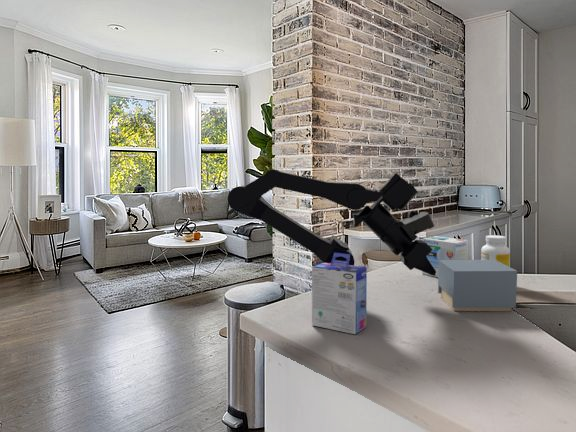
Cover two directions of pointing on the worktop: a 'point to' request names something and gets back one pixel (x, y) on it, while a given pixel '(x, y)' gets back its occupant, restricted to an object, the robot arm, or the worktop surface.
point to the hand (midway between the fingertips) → (434, 273)
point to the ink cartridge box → (339, 295)
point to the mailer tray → (448, 300)
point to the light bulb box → (445, 250)
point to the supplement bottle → (496, 249)
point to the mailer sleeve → (478, 283)
